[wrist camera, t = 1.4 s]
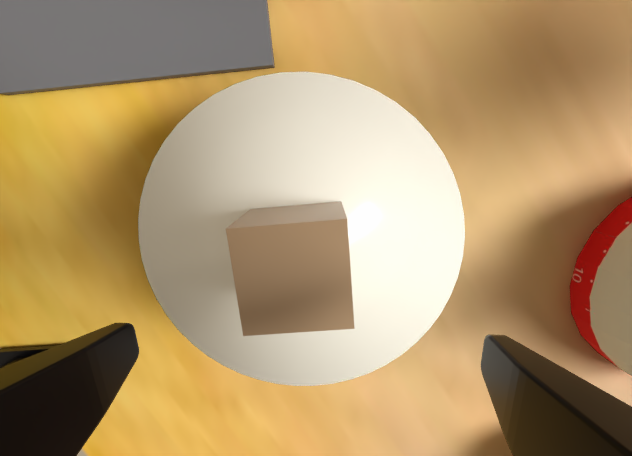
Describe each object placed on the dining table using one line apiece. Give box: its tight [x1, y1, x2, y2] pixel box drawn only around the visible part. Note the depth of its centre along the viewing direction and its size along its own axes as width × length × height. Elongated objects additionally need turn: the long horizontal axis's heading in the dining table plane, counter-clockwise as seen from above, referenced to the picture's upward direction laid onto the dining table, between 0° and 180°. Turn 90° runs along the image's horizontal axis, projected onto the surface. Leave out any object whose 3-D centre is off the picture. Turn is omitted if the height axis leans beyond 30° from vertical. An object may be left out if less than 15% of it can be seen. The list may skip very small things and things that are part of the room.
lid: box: [138, 72, 465, 386], centre depth 13 cm, size 15×15×5 cm
